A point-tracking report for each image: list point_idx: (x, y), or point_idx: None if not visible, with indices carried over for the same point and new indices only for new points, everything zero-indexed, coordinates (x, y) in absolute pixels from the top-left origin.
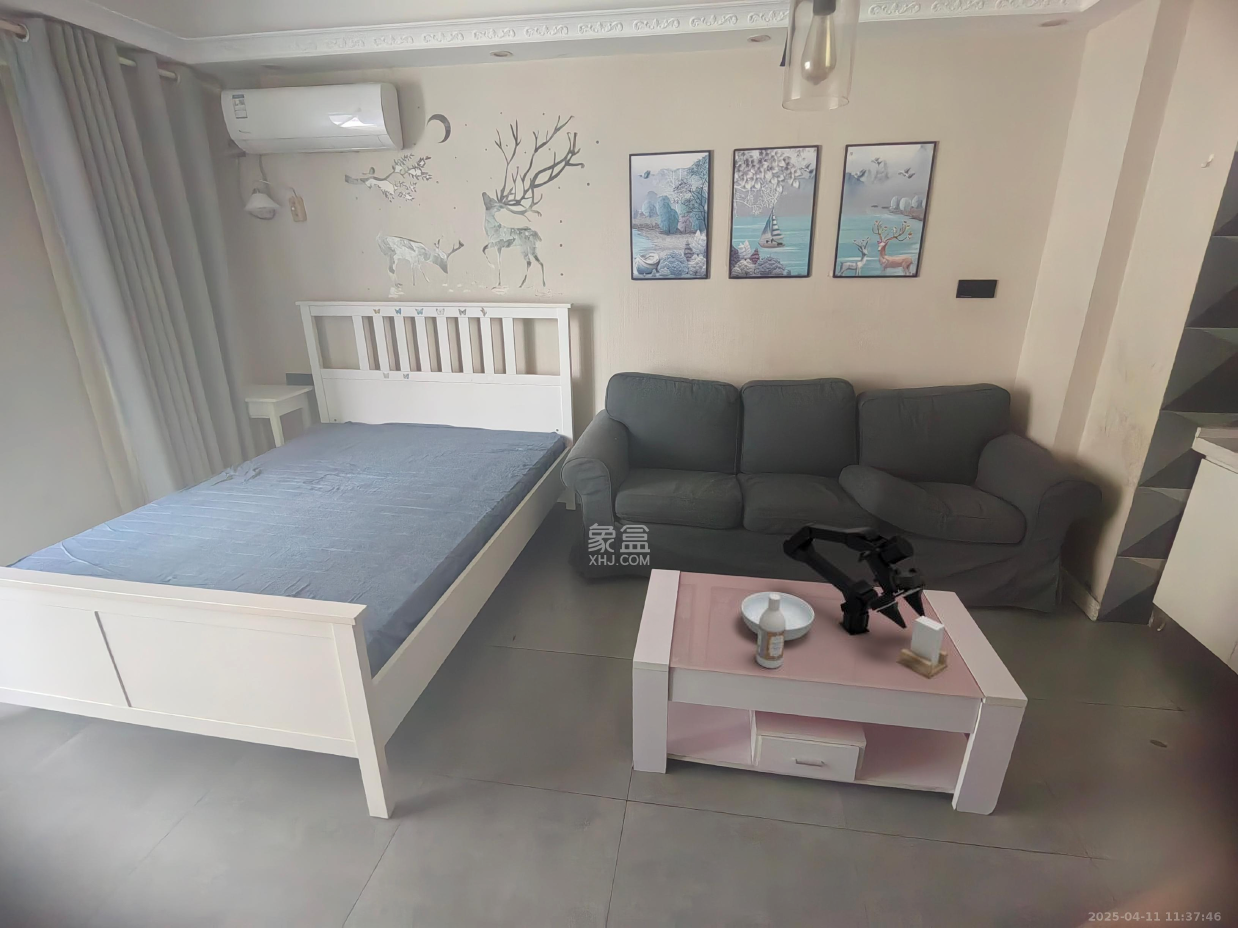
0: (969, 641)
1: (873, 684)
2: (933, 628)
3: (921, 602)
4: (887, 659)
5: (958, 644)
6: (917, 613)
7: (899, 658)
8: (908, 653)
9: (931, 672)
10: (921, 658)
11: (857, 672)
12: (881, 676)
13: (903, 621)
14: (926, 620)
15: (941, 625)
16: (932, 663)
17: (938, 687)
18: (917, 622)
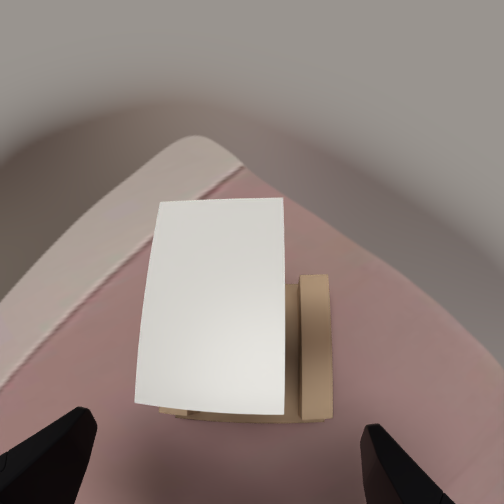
0: (18, 306)
1: (495, 366)
2: (279, 228)
3: (3, 460)
4: (341, 448)
5: (45, 322)
6: (87, 463)
7: (312, 420)
8: (325, 383)
9: (292, 292)
10: (310, 324)
11: (486, 435)
12: (449, 386)
13: (393, 459)
14: (194, 337)
15: (176, 216)
16: (303, 275)
17: (336, 244)
18: (282, 385)
